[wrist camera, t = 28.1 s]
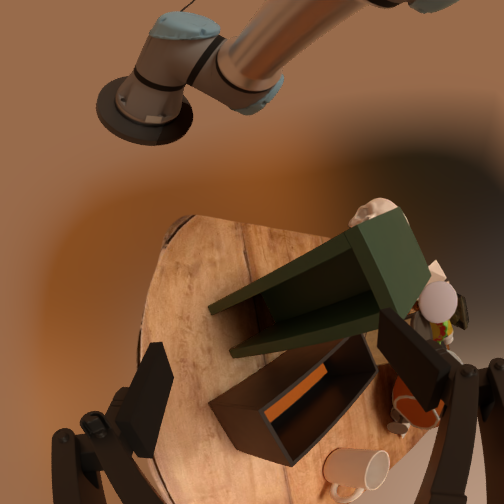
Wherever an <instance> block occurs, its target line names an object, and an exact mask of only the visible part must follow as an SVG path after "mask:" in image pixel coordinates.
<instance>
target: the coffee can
mask: <svg viewBox="0 0 504 504" xmlns="http://www.w3.org/2000/svg"><path fill="white" fill-rule="evenodd" d="M404 320H405V321H406V322H407V323H408V324H409V325H410V326H411V327H412V328H413V329H414V330H415V331H416V332H417V333H418V334H420V335H421V336H422V337H423V338H424V339H425V340H429V339H432V340H433V334H432V328H431V324H430V321H428V320H427V319H425V317H424V316H423V315H422V313H421V310H419V311H416V312H415V313H412V314H409V315H407V316H406V317H405V319H404ZM363 334H364V337H365V339H366V341H367V344H368V346H369V349H370V351H371V353H372V356H373V358H374V361H375V363H376V365H377V366H380V365H385V364H389V362H388V361H387V360H386V358H385V357H384V356H383V354H382V353H381V352H380V350H379V349H378V348H377V338H378V329H377V330H374V331H370V332H366V333H363Z"/></svg>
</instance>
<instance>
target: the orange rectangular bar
mask: <svg viewBox="0 0 504 504" xmlns="http://www.w3.org/2000/svg"><path fill="white" fill-rule="evenodd" d="M326 373H327V370H326V368H325V366H324V364H323V363H322V364H321V365H320V366H319V367H318V368H317V369H316V370H315V371H313V372H312V373H311V374H310V375H309V376H308V377H307V378H305V379H304V380H303V381H302V382H301V383H300V384H298V385H297V386H296V387H295V388H294V389H292V390H291V391H290V392H289V393H287V394H286V395H285V396H284V397H283V398H281V399H280V400H279V401H278V402H276V403H275V404H274V405H272V406H271V407H270V408H269V409H267V410H266V411H265V412H264V413H265V415H266V416H267V418H268V420H269V422H272V421H273V420H274V419H275V418H276V417H278V416H279V415H280V414H281V413H283V412H284V411H285V410H286V409H287V408H288V407H290V406H291V405H292V404H293V403H294V402H295V401H297V400H298V399H299V398H300V397H301V396H302V395H303V394H304V393H306V392H307V391H308V390H309V389H310V388H311V387H312V386H313V385H314V384H315V383H316V382H318V381H319V380H320V379H321V378H322V377H323V376H324V375H325V374H326Z"/></svg>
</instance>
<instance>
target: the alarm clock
mask: <svg viewBox="0 0 504 504" xmlns="http://www.w3.org/2000/svg"><path fill="white" fill-rule="evenodd" d="M447 351H448V352H449V353H450V354H451V355H452V356H453V357H454V358H455V359H456V360H458V361H459V362H460V363H461V364H462V365H463V362H462V361H461V359H460V358H459V357H458V356H457V355H456V354H455V353H453V352H452V351H449V350H447ZM392 403H393V406H394V408H395V409H396V410H397V411H398V412H399V413H400V414H401V415H402V416H403V417H404V418H405V419H406V420H407V421H408V422H409V423H410V424H411V425H412V426H413V427H416V428H419V429H432V428H435V427H438V426H439V423H440V419H441V418H439V416H440V413H441V411H442V408H443V406H444V402H443V401H442V400H440V402H439V405H438V407H437V408H435V409H433V410H431V411H429V412H425V411H424V410H423V408H422V407H421V405H420V404H419V403H418V401H417V400H416V399H415V397H414V396H413V394H412V393H411V392H410V390H409V389H408V388H407V386H406V385H405V384H404V382H403V381H402V380H401V378H400V377H399V376H397V379H396V382H395V385H394V388H393V391H392Z"/></svg>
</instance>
